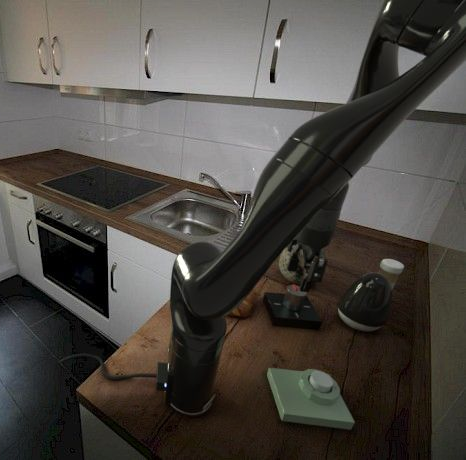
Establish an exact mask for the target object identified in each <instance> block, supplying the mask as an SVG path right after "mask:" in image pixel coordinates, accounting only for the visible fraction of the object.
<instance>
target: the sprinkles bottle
mask: <svg viewBox="0 0 466 460" xmlns="http://www.w3.org/2000/svg"><path fill="white" fill-rule="evenodd" d="M404 268H405V265H404V264H403V263H402V262H401V261H398V260H396V259H392V258H384V259H382V260H381V262H380V264H379V269H378V271H377V273H380V274H382V275H384V276H385V277H386V278H387V279H388V280H389V282H390V285H391V289H392V290H393V289H394V287H395V285H396V283H397V281H398V278H399V277H400V275H401V274H402V273H403V271H404Z"/></svg>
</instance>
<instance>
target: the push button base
mask: <svg viewBox="0 0 466 460" xmlns="http://www.w3.org/2000/svg"><path fill="white" fill-rule="evenodd" d="M314 371H321V370H319V369H314V368H307V369H305V370H303V371H302V370H292V369H286V368H285V369H284V368H275V367H268V369H267V371H266V376H267V380H268V383H269V387H270V389H271V392H272V395H273V399H274V401H275V406H276V408H277V411H278V414H279V418H280V420H281V421H282V422H287V423H288V422H289V423H294V424H295V423H296V424H304V425H312V426H318V427H325V428H326V427H327V428H328V427H329V428H333V429H342V430H348V431H349V430H350V431H351V430H352V429H353V427H354V425H355V424H356V422H355V420H354V418H353V415H352V414H351V412H350V409H349V408H348V406H347V405H346V402H345V401H344V398H343V397H342V395H341V393H340V392H341V388H340V386H339V385H338V383H337V381H336V380H335V379H334V378H333V377H332V376H331V374H329V373H326V374H327V375H328V376H330V378H331V379H332V381H333V385H332V387H331V389H330V391H329V392H328V393H321V392H319V391H317V390H315V389H314V388H313V387H312V386H311V385H310V383H309V379H310V376H311V374H312V372H314ZM321 372H323V371H321Z"/></svg>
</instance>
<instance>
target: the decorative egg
mask: <svg viewBox="0 0 466 460" xmlns="http://www.w3.org/2000/svg"><path fill="white" fill-rule="evenodd" d="M288 246H289V245H288ZM288 246H287V247H286V248H285V249H284V250H283V252H282V253H281V254H280V255H279V260H278V267H279V270H280V271H279V272H280V273H281V274H282V276H283V277H284V279H286V280H287V281H289V282H290V283H292V284H295V285H301V282H302V279H303V277H304V273H303V269H302V268H301V260H300V261H299V264H298V267H297V270H296V271H295V272H291V271H288V270H287V266H288V263H289V260H290V257H289V254H290V252H288V251H287V249H288ZM294 247H295V245H293V247H292V248H294ZM320 257H321V258H325V259H327V257H326V251H325V247H324V248H322V249H321V256H320ZM299 259H300V258H299ZM306 265H307V266H311V265H312V264H306ZM309 272H310V269H308V274H309ZM317 276H318V273H317Z"/></svg>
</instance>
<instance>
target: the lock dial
mask: <svg viewBox="0 0 466 460" xmlns="http://www.w3.org/2000/svg"><path fill="white" fill-rule="evenodd" d="M299 287H300V285H297V284H296V283H292V284H291V285H288V286H287V288H286V291H285V293H284V294H285V297H284V301H283V305H284V307H286V308H287V309H289V310H291V311H300V310H301V309H302V306H303V303H304V300H305V297H306V296H307V294H308V292H301V291H300V289H299Z"/></svg>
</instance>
